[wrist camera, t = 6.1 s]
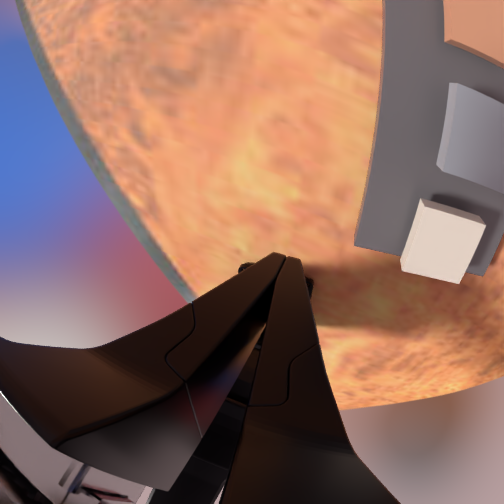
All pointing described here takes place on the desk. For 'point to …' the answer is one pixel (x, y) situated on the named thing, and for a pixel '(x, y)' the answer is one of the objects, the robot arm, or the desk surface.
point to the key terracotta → (476, 27)
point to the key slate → (473, 138)
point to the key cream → (441, 241)
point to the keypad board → (422, 132)
